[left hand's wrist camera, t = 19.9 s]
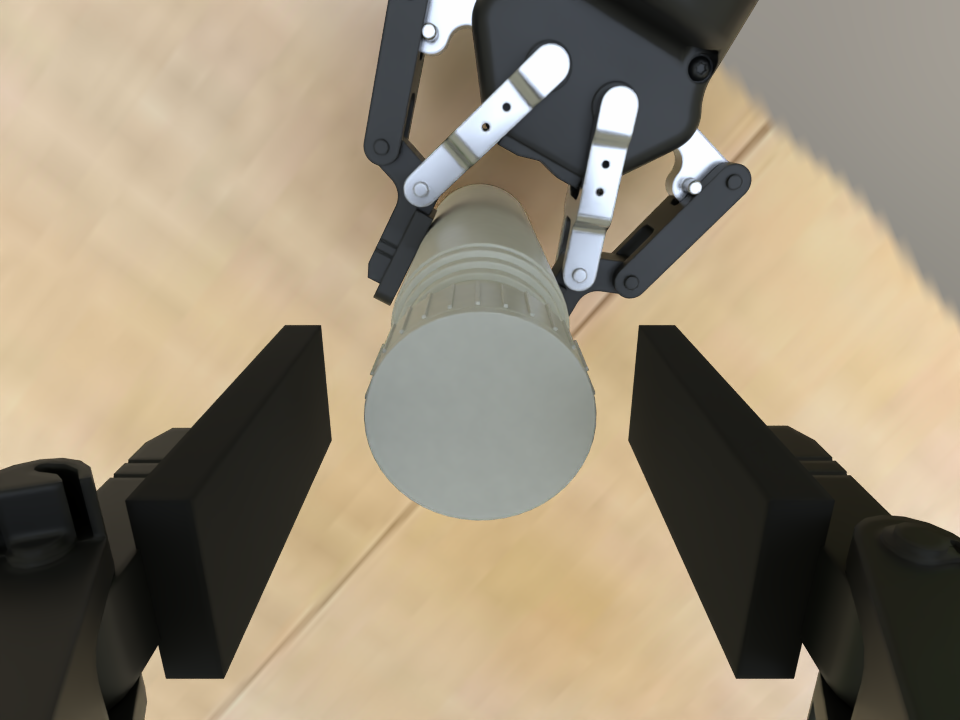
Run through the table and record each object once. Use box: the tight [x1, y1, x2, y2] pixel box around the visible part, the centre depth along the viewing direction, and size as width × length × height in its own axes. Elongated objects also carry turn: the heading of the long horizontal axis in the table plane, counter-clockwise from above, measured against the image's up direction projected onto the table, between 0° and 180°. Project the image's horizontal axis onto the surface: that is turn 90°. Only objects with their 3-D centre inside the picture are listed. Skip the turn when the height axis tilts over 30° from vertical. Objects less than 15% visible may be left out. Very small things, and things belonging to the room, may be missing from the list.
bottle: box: [391, 184, 569, 329], centre depth 22 cm, size 5×5×19 cm
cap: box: [364, 281, 596, 520], centre depth 13 cm, size 4×4×2 cm
